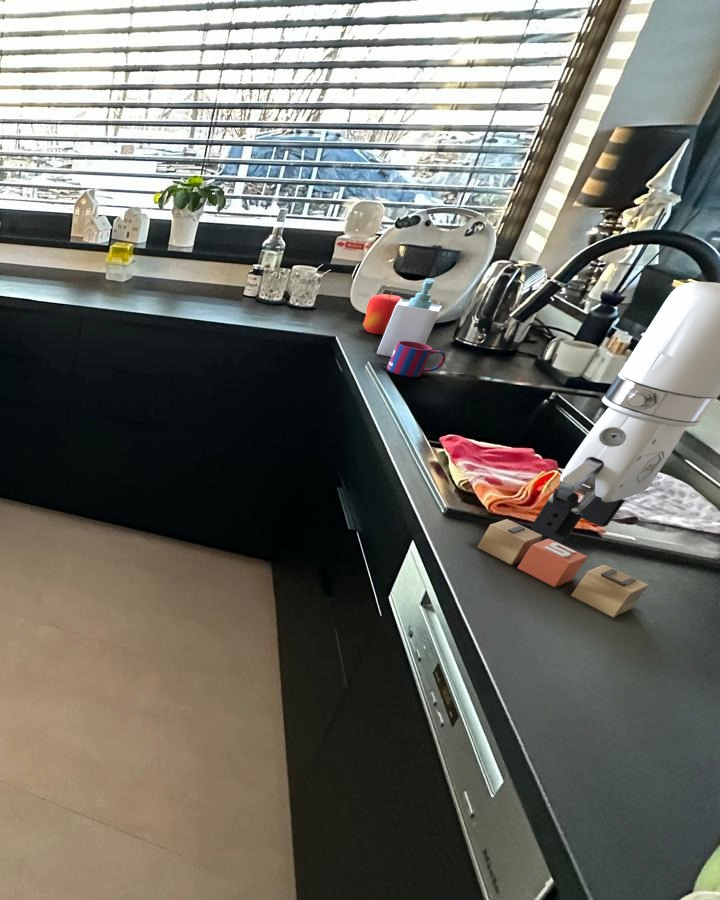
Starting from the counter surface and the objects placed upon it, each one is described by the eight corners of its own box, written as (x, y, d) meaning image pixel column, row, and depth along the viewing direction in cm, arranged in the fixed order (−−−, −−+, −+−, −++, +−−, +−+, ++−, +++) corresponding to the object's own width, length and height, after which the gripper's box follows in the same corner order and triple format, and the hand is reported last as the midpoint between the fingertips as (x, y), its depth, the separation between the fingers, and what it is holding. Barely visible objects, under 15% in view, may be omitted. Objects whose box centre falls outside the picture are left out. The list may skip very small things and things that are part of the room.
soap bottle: (375, 354, 159) (406, 278, 150) (381, 346, 165) (410, 273, 156) (416, 362, 154) (450, 285, 145) (420, 354, 160) (453, 280, 151)
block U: (569, 597, 76) (588, 570, 74) (586, 589, 77) (605, 562, 75) (611, 619, 72) (632, 591, 70) (628, 610, 74) (649, 583, 72)
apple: (387, 330, 180) (404, 289, 174) (398, 338, 173) (416, 296, 167) (354, 326, 182) (369, 285, 176) (363, 334, 175) (380, 292, 169)
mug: (384, 365, 151) (396, 338, 148) (434, 374, 147) (447, 347, 144) (387, 374, 146) (399, 346, 142) (439, 383, 142) (452, 354, 138)
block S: (515, 569, 80) (532, 543, 78) (533, 562, 82) (549, 536, 80) (553, 589, 77) (571, 562, 75) (570, 581, 78) (589, 555, 76)
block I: (475, 549, 84) (490, 523, 82) (493, 543, 85) (508, 517, 83) (510, 566, 81) (526, 540, 79) (527, 560, 82) (543, 534, 80)
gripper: (665, 424, 62) (568, 560, 70) (739, 405, 68) (642, 531, 76) (572, 394, 68) (493, 523, 76) (648, 379, 74) (567, 499, 82)
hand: (568, 527), depth 76 cm, fingers open, 9 cm apart
